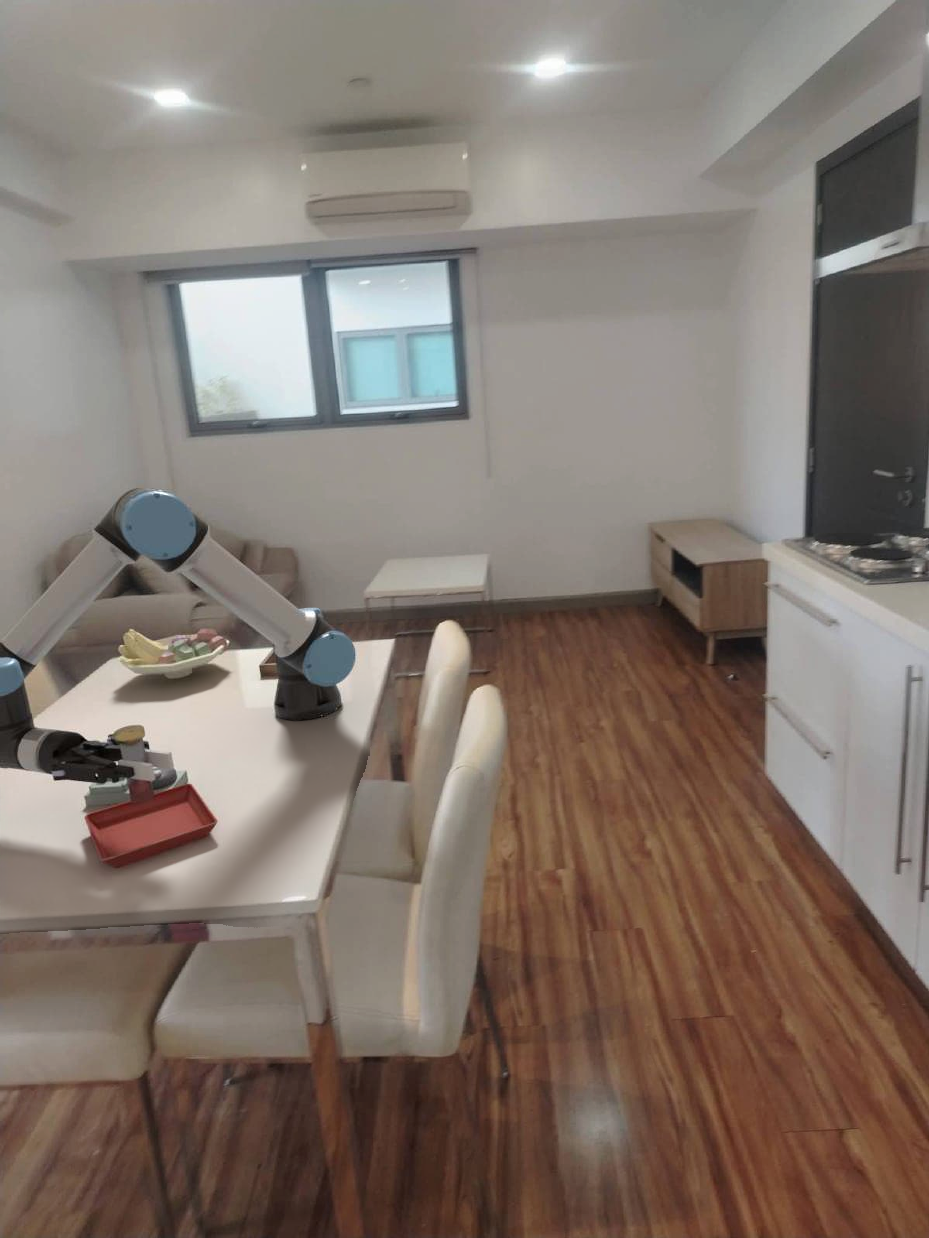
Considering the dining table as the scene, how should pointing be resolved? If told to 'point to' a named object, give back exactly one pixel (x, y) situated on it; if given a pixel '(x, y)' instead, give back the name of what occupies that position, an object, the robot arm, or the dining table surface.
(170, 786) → the base
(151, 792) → the pin
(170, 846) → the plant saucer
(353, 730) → the dining table surface
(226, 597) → the robot arm
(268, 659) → the wooden tray
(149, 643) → the dish with food
